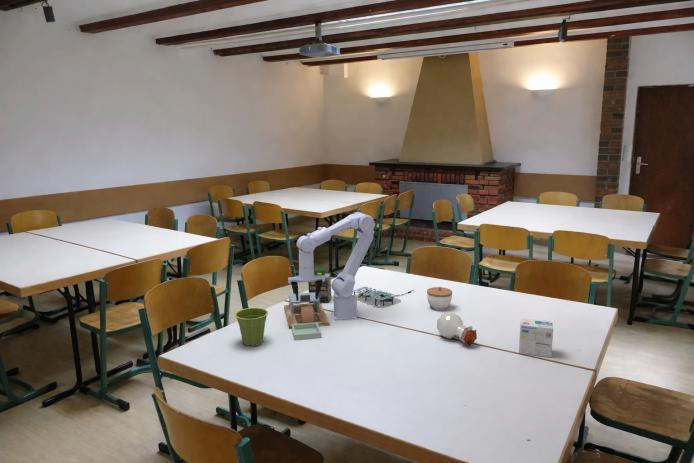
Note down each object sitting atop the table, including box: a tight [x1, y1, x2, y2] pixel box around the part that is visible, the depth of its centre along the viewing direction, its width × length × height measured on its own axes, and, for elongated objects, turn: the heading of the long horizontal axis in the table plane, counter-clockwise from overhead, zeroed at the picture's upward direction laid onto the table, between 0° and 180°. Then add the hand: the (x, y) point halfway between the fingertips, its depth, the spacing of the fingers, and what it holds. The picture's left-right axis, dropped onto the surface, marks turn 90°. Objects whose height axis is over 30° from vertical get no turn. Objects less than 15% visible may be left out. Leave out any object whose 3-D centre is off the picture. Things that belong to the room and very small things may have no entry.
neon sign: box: [353, 286, 414, 309], centre depth 232 cm, size 21×4×29 cm
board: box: [283, 302, 330, 330], centre depth 206 cm, size 16×24×2 cm
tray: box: [291, 323, 322, 341], centre depth 189 cm, size 10×10×2 cm
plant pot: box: [234, 307, 269, 347], centre depth 181 cm, size 12×12×11 cm
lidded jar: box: [426, 286, 453, 311], centre depth 215 cm, size 11×11×9 cm
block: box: [301, 306, 314, 323], centre depth 200 cm, size 4×4×6 cm
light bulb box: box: [518, 317, 554, 358], centre depth 172 cm, size 11×7×11 cm, turn 71°
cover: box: [288, 292, 320, 314], centre depth 210 cm, size 12×10×8 cm
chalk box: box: [307, 268, 332, 304], centre depth 225 cm, size 9×9×15 cm
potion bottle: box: [436, 311, 478, 347], centre depth 183 cm, size 10×10×15 cm
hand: (306, 299), depth 199 cm, fingers open, 7 cm apart
